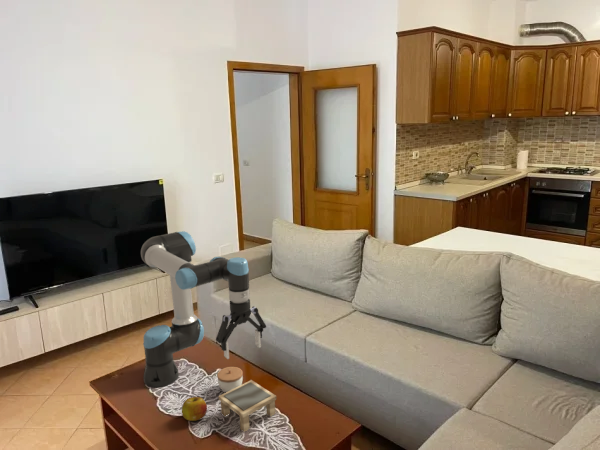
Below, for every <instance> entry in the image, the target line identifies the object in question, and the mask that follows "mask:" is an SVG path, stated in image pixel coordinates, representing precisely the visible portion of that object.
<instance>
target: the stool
mask: <svg viewBox="0 0 600 450" xmlns="http://www.w3.org/2000/svg"><path fill="white" fill-rule="evenodd" d="M276 400H277V395H276V394H274V393H272V392H271V391H269V390H268V389H266V388H264V387H263V386H261V384H258V383H257V382H255V381H254V380H252V379H250V380H248V381H247V382H244V383H242V385H240V386H238V387H236V388H234V389H232V390H230V391H228V392H226V393H225V392H224V393H222V394H220V395H218V401H219V402H220V410H221V411H220V412H221V413H222V414H223V415H224V416H226V415H228V414H230V415H231V410H232V411H233V412H234V413H236V414H237V415H238V416H239V427H240V430H241V431H242V430H243V431H244V433H246V432H247V431H249V430H250V415H251V414H253V413H254V412H257V411H259V410H260V409H262V408H264V407H266V415H267V414H268V415H267V416H269V415H270V416H271V417H273V416H274V414H275V415H276ZM222 414H221V415H222ZM223 415H222V416H223ZM272 415H273V416H272ZM224 416H223V417H224ZM228 416H229V415H228ZM270 416H269V417H270ZM226 417H227V416H226ZM248 429H249V430H248ZM243 431H242V432H243ZM245 431H246V432H245Z"/></svg>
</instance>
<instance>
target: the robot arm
mask: <svg viewBox="0 0 600 450" xmlns="http://www.w3.org/2000/svg"><path fill="white" fill-rule="evenodd" d="M196 247H197V246H196V244H195V241H194V239H193V237H192V235H191V234H190V233H189V232H188V231H184V230H183V231H175V232H168V233H165V234H161V235H156V236H152V237H150V238H148V239H147V240H146V241H144V243H143V244H142V246H141V249H140V258H141V260H142V261H143V262H144V264H146V265H147V266H149V267H151V268H158V269H159V270H160V271H162V272H165V273H166V274H168V275H169V278H170V279H169V280H170V281H169V282H170V289H171V297H172V298H171V299H172V306H173V314H174V317H173V318H172V319H171V326H169V325H166V324H161V325H160V324H159V325H155V326H153V327H150V328H149V329H147V330H146V331H145V333H144V334H143V344H142V345H143V349H144V355H145V356H144V358H145V369H144V374H143V382H144V384H145V385H146V386H147V387H150V388H162V387H166V386H168V385H171V384H173V383H174V382H176V380H178V378H179V376H180V374H179V373H180V372H179V369H178V366H177V365H176V363H175V361H174V353H177V352H180V351H183V350H186V349H188V348H191V347H194V346H196V345H197V344H200V343H201V342H202V341H203V339H204V335H205V327H204V325H203V322H202V320H201V319H200V318H198V316H197V315H196V314H195V313H194V312H195V311H194V304H193V295H192V294H193V293H192V289H194V288H197V287H200V286H203V285H206V284H207V285H208V284H210V283H213V282H217V281H221V280H224V281H226V282H227V284H228V299H229V310H230V314H229V315H225V314H223V315H222V321H221V323H220V327H219V329H218V332H217V335H216V337H215V341H216V342H217V343H219V344H220V347H221V350H222V351H223V357H224V358H226V359H227V360H229V359H230V349H229V348H230V347H229V342H228V340H229V338H230V336H231V335H232V333H233V332H234V329H235V328H236V327H237V326H238V325H242V324H246V323H247V321H248V323H250V324H251V325H252V326H253V327H254V328H256V329H254V339H255V346H256V347H257V348H261V347H262V344H261V339H262V338H263V332H264V329H266V328H267V325H266V323H265V321H264V320H263V318H262V316H261V315H260V313H259V308H257V307H256V306H254V305H253V306H252V307H251V299H250V298H251V297H250V277H249V274H250V273H249V271H250V270H249V264H248V260H247V259H246V258H245V257H231V258H229V259H227V258H225V257H222V256H214V257H212V258H211V259H210V261H209V262H203V263H200V264H196V265H194V264H193V263H192V261H193V260H192V256H195V255H196V250H197V248H196ZM251 314H253V316H254V317H255V319H256V320H257V323H256V322H255V320H253V319H252V317H250V316H251Z"/></svg>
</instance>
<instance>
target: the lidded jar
mask: <svg viewBox="0 0 600 450" xmlns="http://www.w3.org/2000/svg"><path fill="white" fill-rule="evenodd" d="M243 373H244V372H243V370H242V369H241V368H240V367H237V366H227V367H224V368H222V369H219V371H218V372H217V374H216V377H217V383H218V386H219V388H220V389H221V390H222V391H223V392H224V391H225V392H228V391H230V390H232V389H234V388H236V387H238V386H240V385H242V384H243V379H244V377H243V376H244V375H243ZM225 392H224V393H225Z"/></svg>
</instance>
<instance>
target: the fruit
mask: <svg viewBox="0 0 600 450" xmlns="http://www.w3.org/2000/svg"><path fill="white" fill-rule="evenodd" d="M207 412H208V405H207V402H206V401H205V400H204V398H203V397H200V396H192V397H189V398H187V399H185V400H184V402H183V404H182V407H181V414H182V417H183V418H184V419H185V420H187V421H191V422H195V421H199V420H202V419H204V418H205V416H206V414H207Z"/></svg>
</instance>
